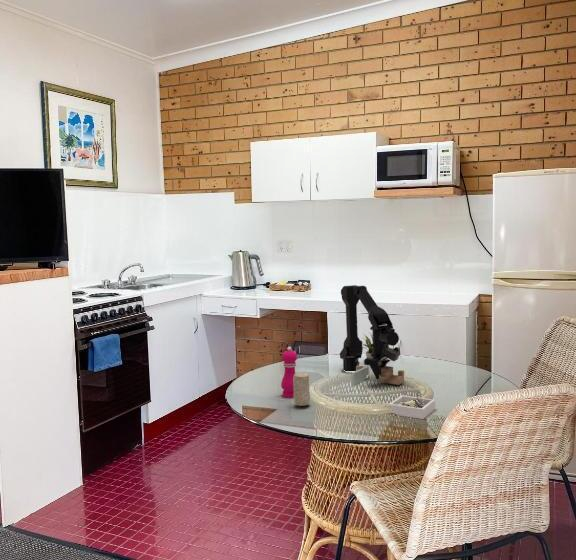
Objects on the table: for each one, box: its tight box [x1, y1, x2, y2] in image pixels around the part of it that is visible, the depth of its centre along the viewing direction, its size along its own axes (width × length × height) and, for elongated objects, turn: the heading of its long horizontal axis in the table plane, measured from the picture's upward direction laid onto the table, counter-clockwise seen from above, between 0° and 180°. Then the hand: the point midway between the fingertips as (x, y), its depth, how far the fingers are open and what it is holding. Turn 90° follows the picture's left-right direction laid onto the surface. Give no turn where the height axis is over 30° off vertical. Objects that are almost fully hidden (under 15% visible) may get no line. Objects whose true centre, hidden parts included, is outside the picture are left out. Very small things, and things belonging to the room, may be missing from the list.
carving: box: [293, 372, 311, 407], centre depth 234 cm, size 6×8×12 cm
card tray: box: [387, 394, 436, 420], centre depth 224 cm, size 13×13×4 cm
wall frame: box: [356, 365, 405, 382], centre depth 267 cm, size 22×2×6 cm, turn 58°
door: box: [351, 365, 370, 387], centre depth 264 cm, size 14×1×6 cm, turn 146°
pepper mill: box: [280, 346, 298, 399], centre depth 247 cm, size 7×7×20 cm
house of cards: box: [413, 390, 426, 408], centre depth 226 cm, size 9×9×8 cm
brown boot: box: [380, 365, 404, 386], centre depth 258 cm, size 8×4×6 cm, turn 57°
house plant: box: [362, 332, 373, 358], centre depth 296 cm, size 14×14×16 cm
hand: (379, 377), depth 261 cm, fingers closed on brown boot, 4 cm apart
